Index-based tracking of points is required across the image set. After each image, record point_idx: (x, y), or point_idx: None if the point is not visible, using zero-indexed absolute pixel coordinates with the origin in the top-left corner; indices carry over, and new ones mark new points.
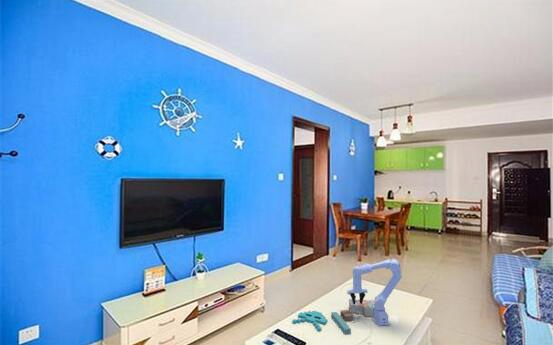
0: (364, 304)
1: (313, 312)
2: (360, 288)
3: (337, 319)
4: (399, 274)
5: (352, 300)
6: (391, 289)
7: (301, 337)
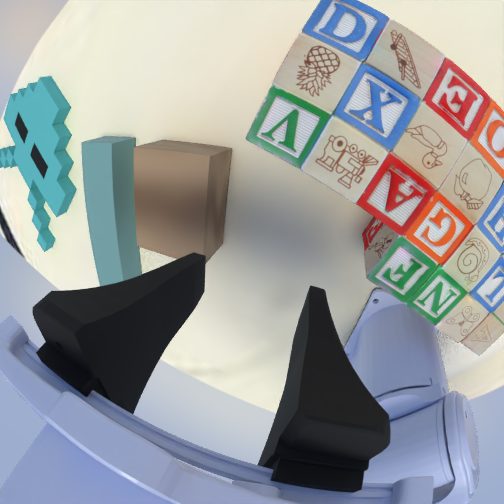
0: (437, 215)
1: (35, 101)
2: None
3: (93, 241)
4: None
5: (165, 269)
6: None
7: (21, 245)
